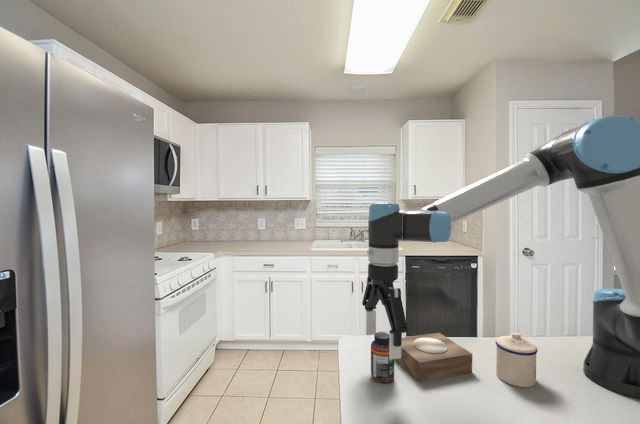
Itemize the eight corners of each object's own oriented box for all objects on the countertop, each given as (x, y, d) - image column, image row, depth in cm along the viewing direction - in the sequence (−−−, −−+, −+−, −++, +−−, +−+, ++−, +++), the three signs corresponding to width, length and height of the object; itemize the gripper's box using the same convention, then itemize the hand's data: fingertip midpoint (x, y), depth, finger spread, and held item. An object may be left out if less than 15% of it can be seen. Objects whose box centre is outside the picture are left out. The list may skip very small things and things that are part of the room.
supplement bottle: (374, 369, 85) (374, 328, 85) (396, 374, 83) (396, 332, 82) (367, 380, 80) (367, 337, 80) (391, 386, 77) (391, 341, 77)
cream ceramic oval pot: (545, 388, 76) (546, 341, 76) (507, 388, 76) (508, 341, 76) (515, 363, 88) (516, 322, 88) (483, 363, 88) (483, 322, 88)
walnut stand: (472, 372, 84) (472, 352, 83) (419, 382, 79) (419, 361, 79) (438, 348, 97) (438, 331, 97) (392, 355, 93) (392, 337, 93)
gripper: (351, 255, 91) (350, 327, 92) (394, 275, 67) (392, 373, 68) (375, 254, 93) (374, 324, 94) (424, 273, 69) (423, 368, 70)
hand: (381, 345), depth 81 cm, fingers open, 13 cm apart
